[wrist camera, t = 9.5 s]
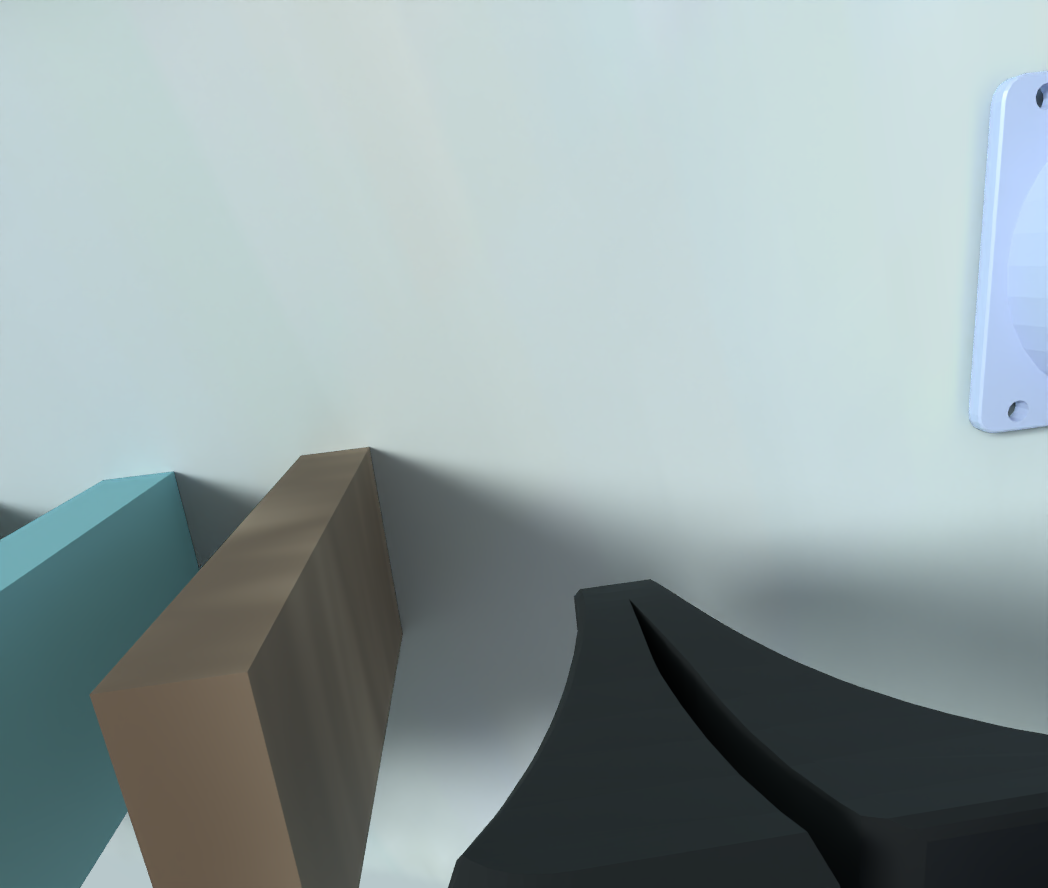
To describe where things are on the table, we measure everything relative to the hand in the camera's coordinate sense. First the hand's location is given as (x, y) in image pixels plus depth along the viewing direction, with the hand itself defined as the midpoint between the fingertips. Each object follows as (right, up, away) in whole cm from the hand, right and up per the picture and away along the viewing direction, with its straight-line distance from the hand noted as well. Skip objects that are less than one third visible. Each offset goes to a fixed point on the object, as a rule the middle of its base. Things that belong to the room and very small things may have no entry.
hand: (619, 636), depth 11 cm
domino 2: (-6, +1, +5) cm, 8 cm away
